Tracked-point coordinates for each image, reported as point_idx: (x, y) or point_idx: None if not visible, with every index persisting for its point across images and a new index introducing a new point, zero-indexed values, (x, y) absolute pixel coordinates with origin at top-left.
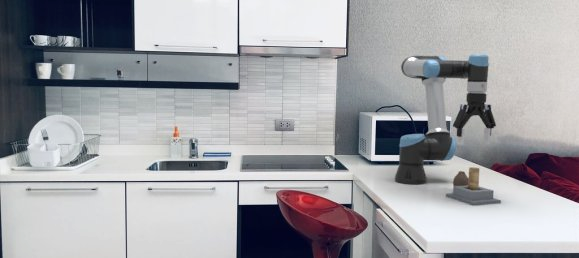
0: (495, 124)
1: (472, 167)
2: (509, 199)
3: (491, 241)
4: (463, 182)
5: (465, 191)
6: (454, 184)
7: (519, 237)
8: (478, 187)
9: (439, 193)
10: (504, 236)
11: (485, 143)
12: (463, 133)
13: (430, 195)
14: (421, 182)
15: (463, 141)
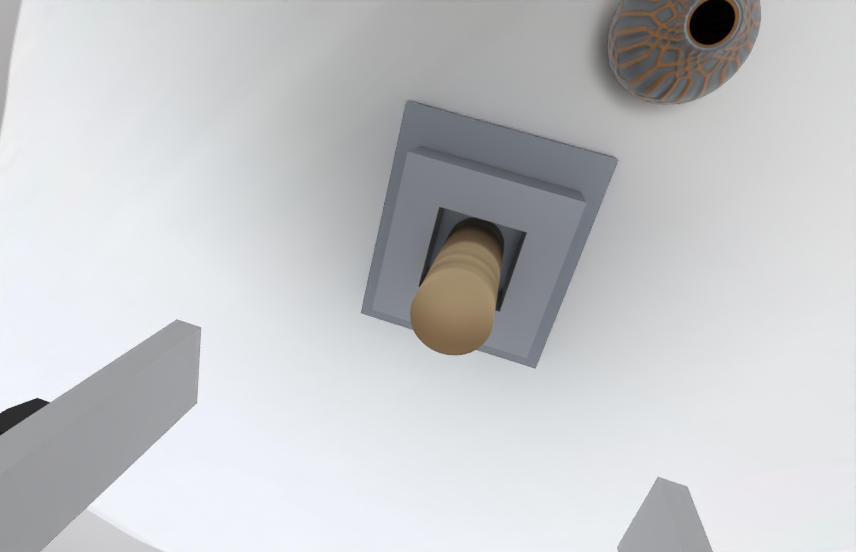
0: None
1: (471, 291)
2: (666, 353)
3: (92, 512)
4: (632, 87)
5: (384, 258)
6: (615, 13)
7: (183, 544)
8: (529, 265)
9: (444, 17)
10: (153, 519)
11: (640, 511)
12: (42, 531)
13: (344, 28)
14: None
15: (159, 434)
